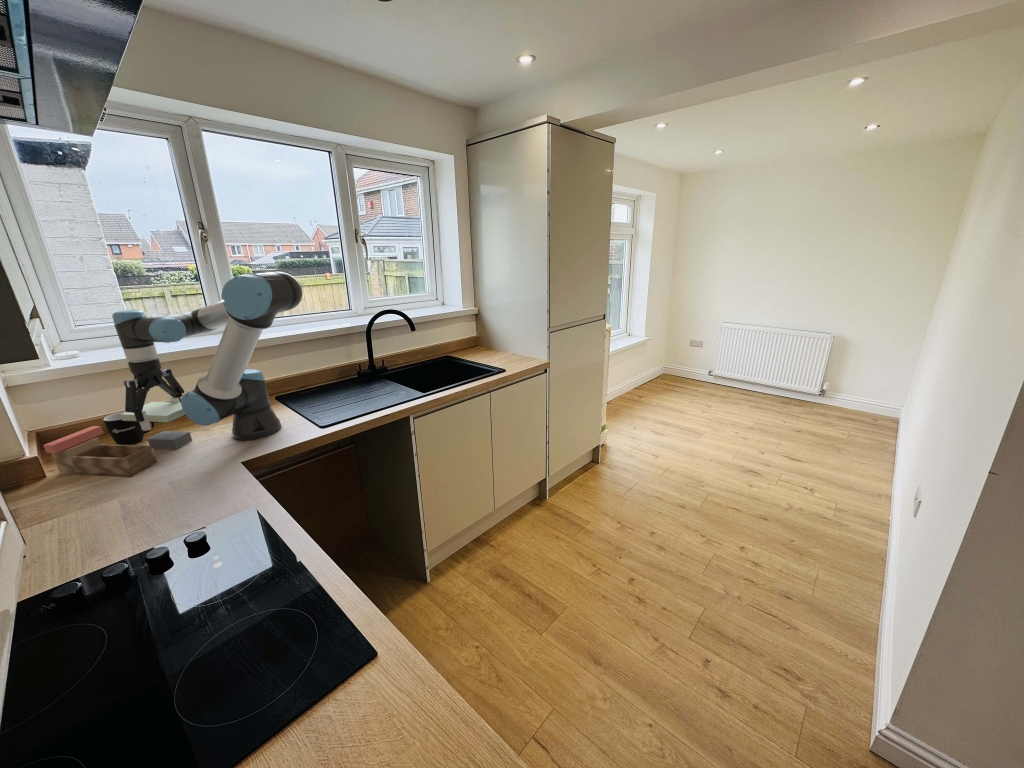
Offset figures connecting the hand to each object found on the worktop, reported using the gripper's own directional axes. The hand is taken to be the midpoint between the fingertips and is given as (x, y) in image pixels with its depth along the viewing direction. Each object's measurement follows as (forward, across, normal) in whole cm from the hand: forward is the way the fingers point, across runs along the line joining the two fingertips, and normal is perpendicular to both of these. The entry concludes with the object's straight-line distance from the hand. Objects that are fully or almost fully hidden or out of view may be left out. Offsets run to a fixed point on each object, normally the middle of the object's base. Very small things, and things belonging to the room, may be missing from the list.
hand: (163, 422), depth 135 cm
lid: (-3, 0, 0) cm, 3 cm away
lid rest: (+8, 0, 0) cm, 8 cm away
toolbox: (+8, +16, -5) cm, 19 cm away
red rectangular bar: (0, +16, -13) cm, 21 cm away
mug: (+9, -2, -16) cm, 18 cm away
